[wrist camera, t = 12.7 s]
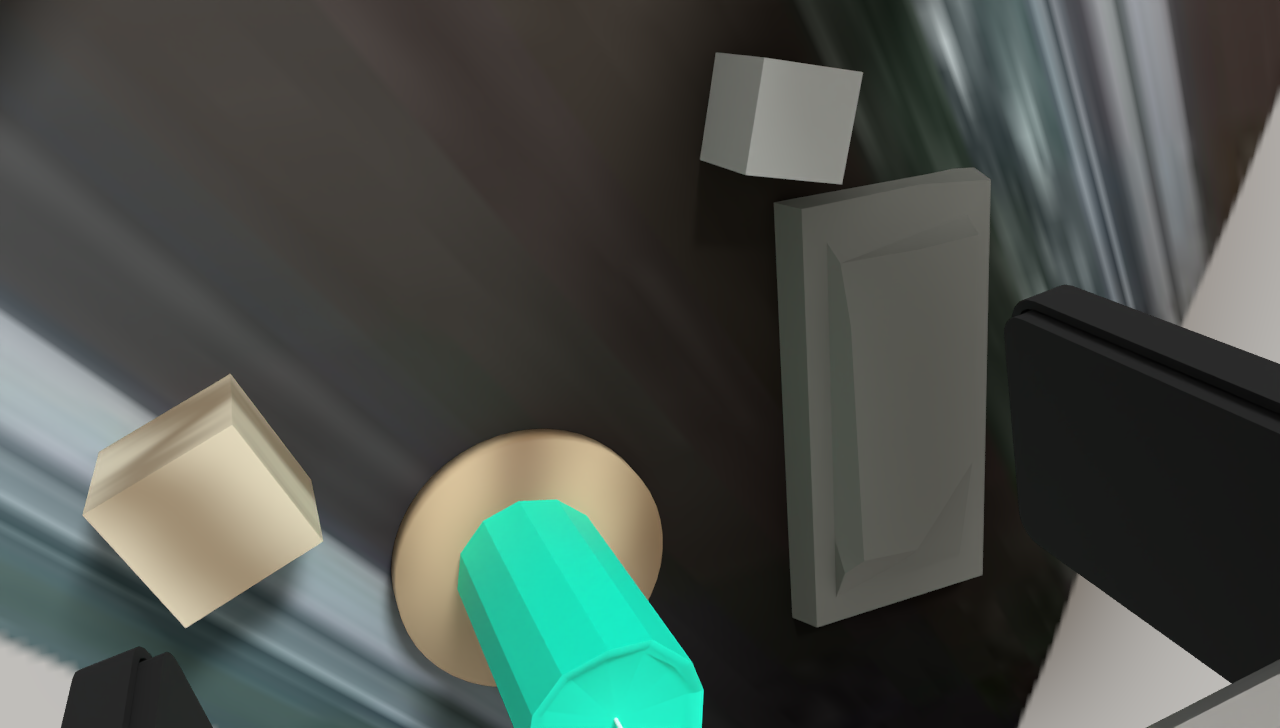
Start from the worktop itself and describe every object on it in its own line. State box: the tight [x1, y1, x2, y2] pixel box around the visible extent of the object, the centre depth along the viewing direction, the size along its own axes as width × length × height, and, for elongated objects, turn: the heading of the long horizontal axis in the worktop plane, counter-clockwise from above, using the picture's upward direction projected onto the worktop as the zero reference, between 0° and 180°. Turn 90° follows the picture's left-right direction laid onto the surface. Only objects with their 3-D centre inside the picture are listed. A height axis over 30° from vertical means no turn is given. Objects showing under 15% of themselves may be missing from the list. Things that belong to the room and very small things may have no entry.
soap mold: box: [774, 167, 991, 627], centre depth 46 cm, size 10×20×4 cm, turn 6°
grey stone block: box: [700, 52, 863, 184], centre depth 38 cm, size 4×4×4 cm
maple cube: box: [83, 374, 323, 628], centre depth 35 cm, size 5×5×5 cm
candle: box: [457, 499, 704, 728], centre depth 36 cm, size 6×6×12 cm
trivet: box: [391, 429, 663, 687], centre depth 42 cm, size 11×11×1 cm
